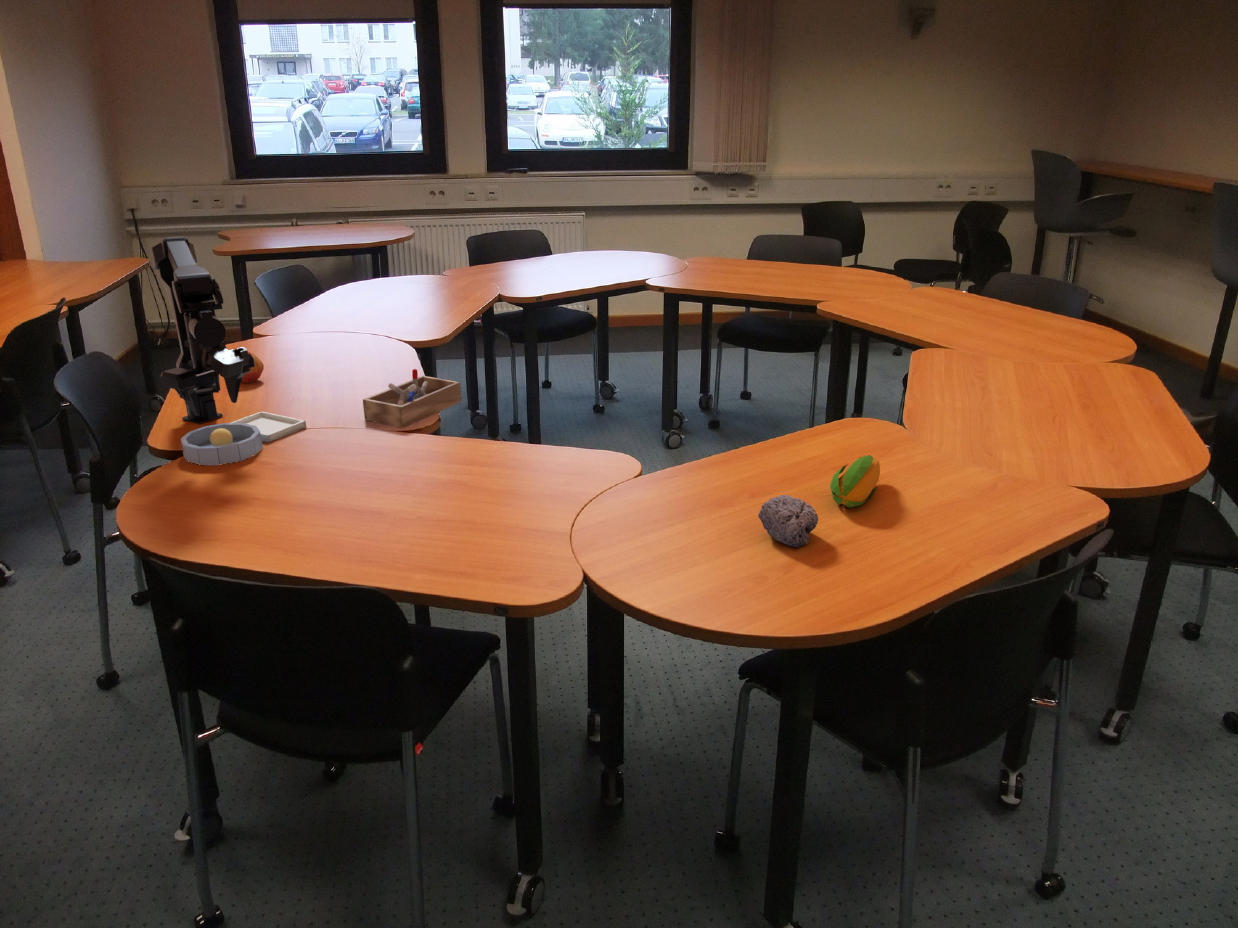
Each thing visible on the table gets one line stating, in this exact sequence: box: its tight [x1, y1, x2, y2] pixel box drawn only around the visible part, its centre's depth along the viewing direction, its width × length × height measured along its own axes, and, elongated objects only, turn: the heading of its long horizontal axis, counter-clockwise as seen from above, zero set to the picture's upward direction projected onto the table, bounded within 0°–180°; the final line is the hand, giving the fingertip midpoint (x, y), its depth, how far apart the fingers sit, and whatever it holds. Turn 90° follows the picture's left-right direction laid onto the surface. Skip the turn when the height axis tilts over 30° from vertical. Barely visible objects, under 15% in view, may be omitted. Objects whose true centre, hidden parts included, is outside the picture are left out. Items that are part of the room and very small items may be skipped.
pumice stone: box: [757, 494, 819, 549], centre depth 154 cm, size 10×8×10 cm
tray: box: [230, 411, 307, 443], centre depth 204 cm, size 14×11×2 cm
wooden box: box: [362, 375, 462, 429], centre depth 216 cm, size 12×22×5 cm, turn 152°
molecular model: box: [387, 368, 428, 405], centre depth 215 cm, size 18×8×10 cm, turn 174°
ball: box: [210, 428, 233, 446], centre depth 191 cm, size 4×4×4 cm
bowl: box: [180, 422, 264, 466], centre depth 191 cm, size 15×15×4 cm
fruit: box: [241, 351, 265, 384], centre depth 237 cm, size 8×8×8 cm
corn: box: [829, 454, 881, 509], centre depth 171 cm, size 7×8×20 cm
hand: (216, 408), depth 188 cm, fingers open, 9 cm apart
